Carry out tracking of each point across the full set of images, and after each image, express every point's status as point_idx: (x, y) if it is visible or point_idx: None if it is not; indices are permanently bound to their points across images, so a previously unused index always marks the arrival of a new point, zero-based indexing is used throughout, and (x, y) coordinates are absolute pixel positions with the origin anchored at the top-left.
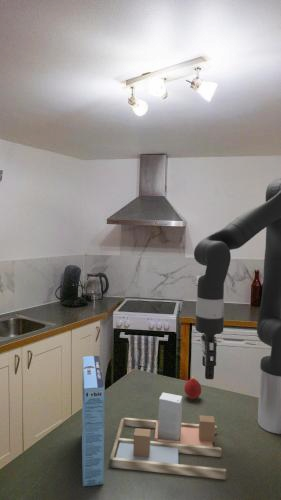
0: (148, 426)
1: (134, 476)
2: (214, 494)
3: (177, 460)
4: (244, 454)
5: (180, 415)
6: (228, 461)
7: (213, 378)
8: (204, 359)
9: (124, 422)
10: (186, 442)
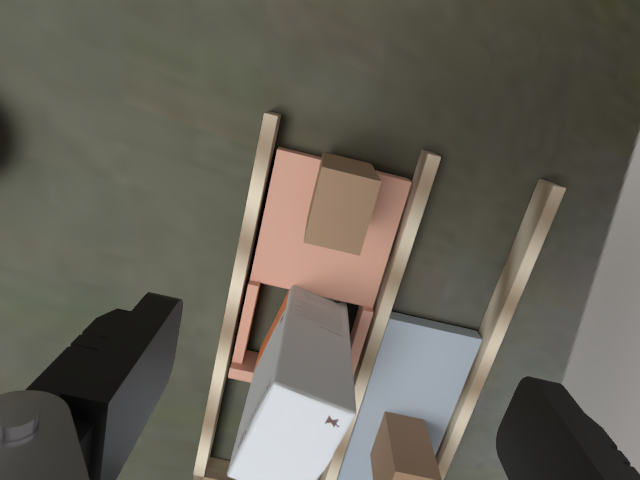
0: (224, 383)
1: (468, 450)
2: (600, 244)
3: (454, 335)
4: (434, 37)
5: (326, 350)
6: (462, 131)
7: (557, 383)
8: (143, 414)
9: (207, 465)
10: (359, 279)
